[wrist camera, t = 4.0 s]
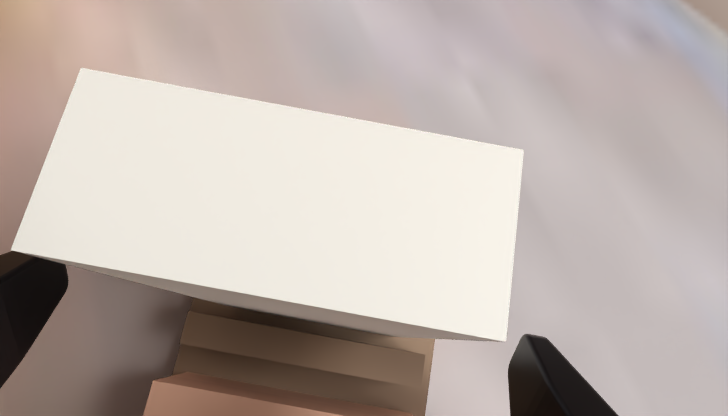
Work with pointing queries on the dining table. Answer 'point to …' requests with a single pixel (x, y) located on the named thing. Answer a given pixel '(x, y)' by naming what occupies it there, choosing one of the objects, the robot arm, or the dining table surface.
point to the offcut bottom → (292, 394)
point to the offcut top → (230, 401)
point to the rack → (306, 357)
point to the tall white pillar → (279, 209)
